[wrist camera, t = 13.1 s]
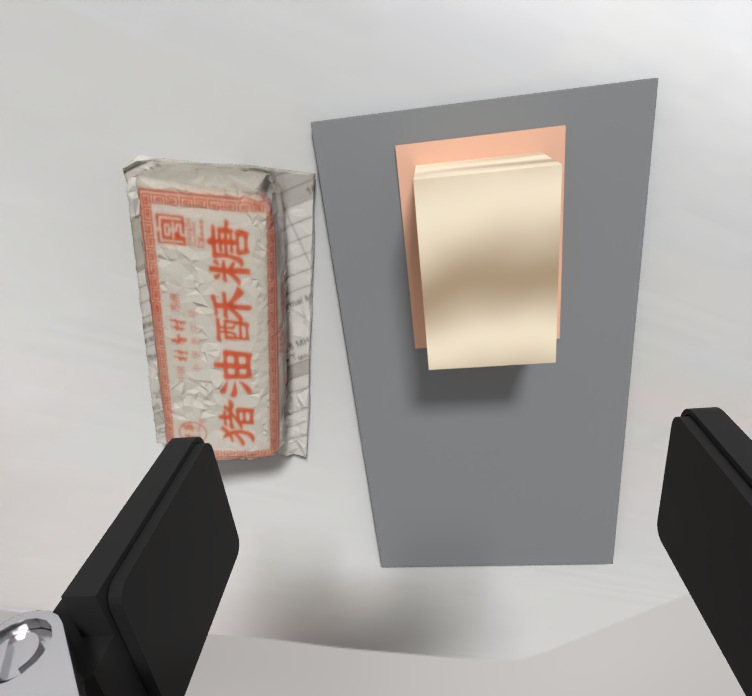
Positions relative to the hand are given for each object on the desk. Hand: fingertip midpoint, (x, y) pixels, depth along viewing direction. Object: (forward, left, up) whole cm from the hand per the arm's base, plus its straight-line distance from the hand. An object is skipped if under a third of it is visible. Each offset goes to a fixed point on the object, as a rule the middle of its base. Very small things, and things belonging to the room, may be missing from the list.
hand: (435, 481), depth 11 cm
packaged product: (-12, -4, -20) cm, 24 cm away
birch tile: (+2, -1, -19) cm, 19 cm away
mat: (+3, -9, -20) cm, 22 cm away
